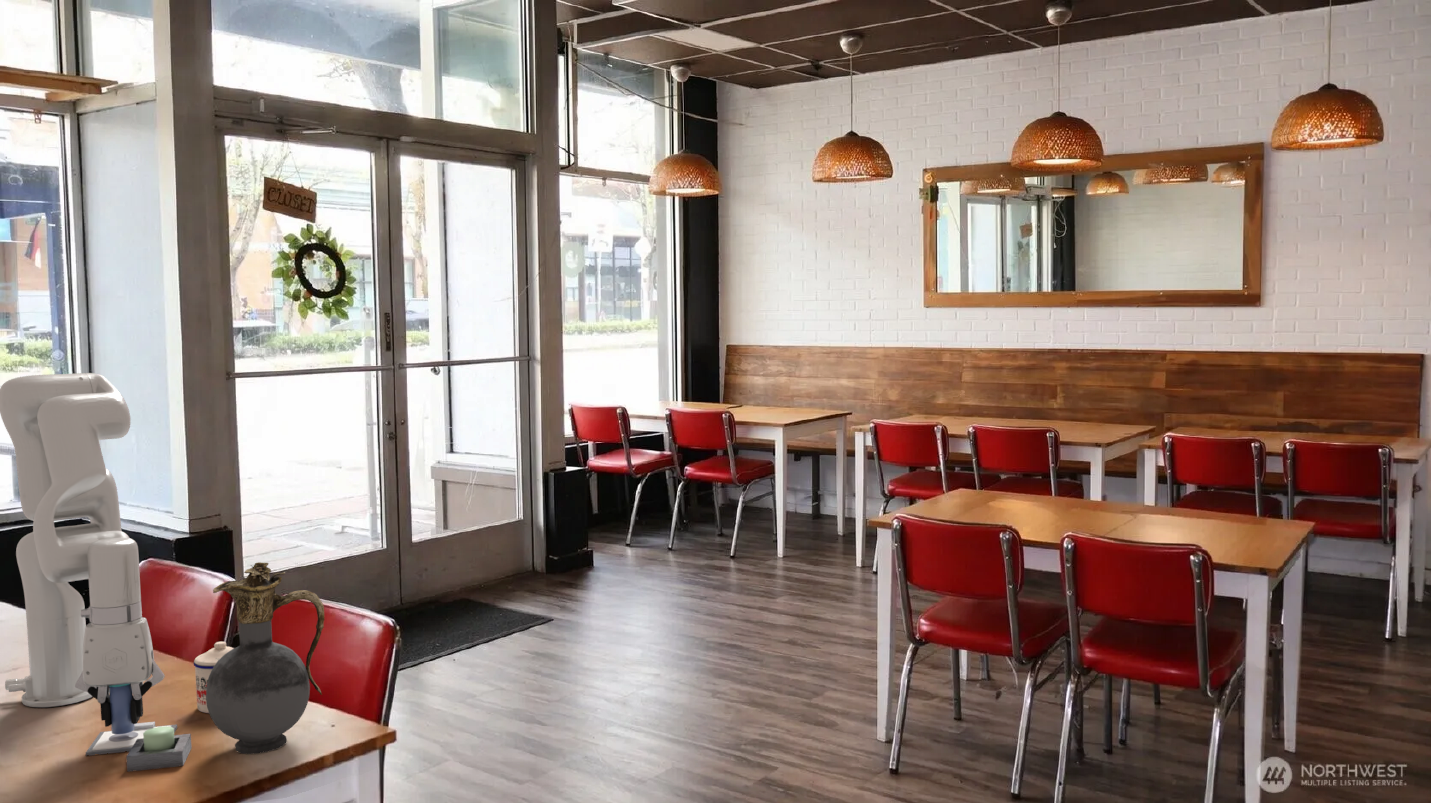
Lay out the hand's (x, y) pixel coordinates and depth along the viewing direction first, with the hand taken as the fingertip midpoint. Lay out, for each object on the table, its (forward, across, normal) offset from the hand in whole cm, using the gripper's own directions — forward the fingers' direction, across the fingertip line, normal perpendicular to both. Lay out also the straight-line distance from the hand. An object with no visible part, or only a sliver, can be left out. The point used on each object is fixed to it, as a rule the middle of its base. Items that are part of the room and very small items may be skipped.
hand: (122, 721), depth 199 cm
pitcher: (+4, +24, -9) cm, 26 cm away
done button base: (+3, +8, -11) cm, 14 cm away
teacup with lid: (+4, +14, +13) cm, 20 cm away
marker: (+2, 0, 0) cm, 2 cm away
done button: (+2, +8, -11) cm, 13 cm away
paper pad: (+3, +2, 0) cm, 4 cm away
